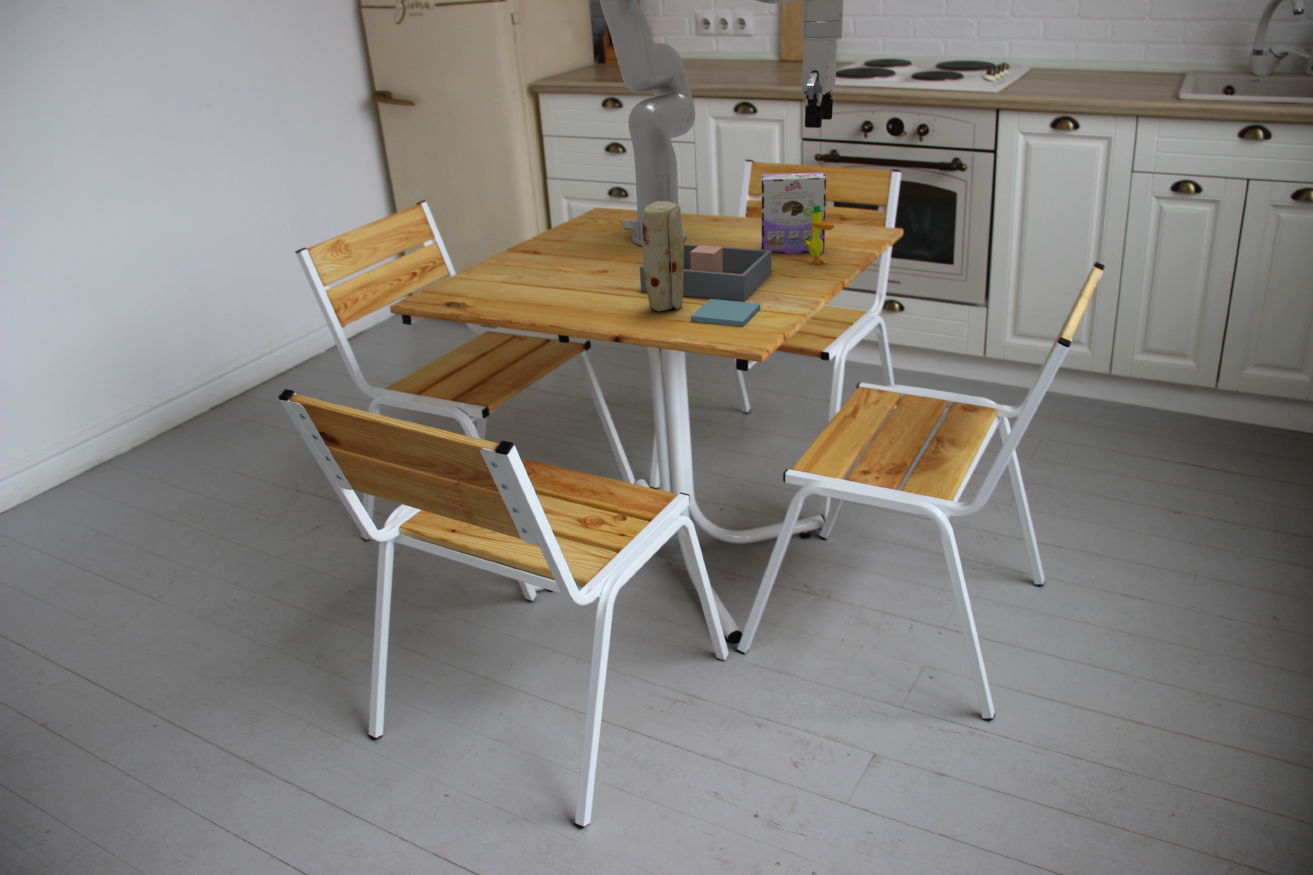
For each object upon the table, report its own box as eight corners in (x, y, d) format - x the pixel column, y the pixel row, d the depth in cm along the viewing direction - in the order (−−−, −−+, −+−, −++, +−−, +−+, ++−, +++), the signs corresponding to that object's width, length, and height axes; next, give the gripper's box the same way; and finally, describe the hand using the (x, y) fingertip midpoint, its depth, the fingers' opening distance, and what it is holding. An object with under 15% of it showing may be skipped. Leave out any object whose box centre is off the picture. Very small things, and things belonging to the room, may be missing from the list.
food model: (664, 297, 189) (660, 195, 180) (694, 302, 186) (691, 198, 177) (636, 313, 182) (631, 206, 173) (667, 318, 179) (662, 210, 170)
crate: (640, 291, 194) (639, 267, 191) (674, 266, 208) (673, 243, 206) (744, 301, 186) (744, 276, 183) (771, 274, 200) (771, 250, 198)
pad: (690, 321, 177) (690, 316, 177) (709, 303, 185) (709, 298, 185) (743, 326, 173) (743, 321, 173) (760, 308, 181) (760, 303, 181)
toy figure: (836, 263, 205) (839, 206, 199) (827, 267, 202) (829, 210, 197) (809, 258, 209) (811, 202, 203) (800, 262, 206) (801, 206, 201)
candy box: (822, 246, 217) (825, 171, 210) (824, 253, 212) (827, 177, 204) (760, 247, 218) (761, 173, 211) (760, 254, 213) (761, 178, 206)
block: (691, 285, 196) (690, 251, 192) (700, 278, 200) (699, 245, 197) (714, 288, 194) (714, 253, 191) (723, 280, 198) (722, 247, 195)
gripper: (813, 27, 194) (810, 116, 202) (791, 35, 180) (789, 130, 188) (850, 26, 192) (846, 117, 200) (832, 35, 178) (827, 131, 185)
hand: (818, 123), depth 194 cm, fingers open, 9 cm apart
